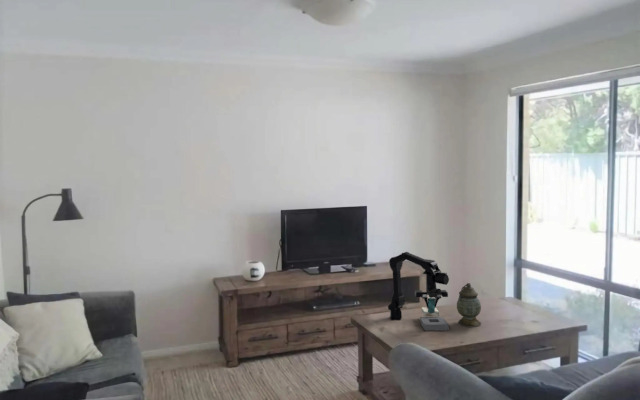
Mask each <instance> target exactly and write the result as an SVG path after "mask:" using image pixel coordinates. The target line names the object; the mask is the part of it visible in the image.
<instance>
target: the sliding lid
mask: <svg viewBox="0 0 640 400" xmlns="http://www.w3.org/2000/svg"><path fill="white" fill-rule="evenodd" d="M420 311H421V314H422V315H423V317H440V311H439V310H438V308H437V307H436V308H435V312H434V313H429V312H428V308H427V306H425V307H421V310H420Z"/></svg>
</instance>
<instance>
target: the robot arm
mask: <svg viewBox="0 0 640 400" xmlns="http://www.w3.org/2000/svg"><path fill="white" fill-rule="evenodd" d="M388 261H389V267H390V270H391V271H392V289H393V294H392V296H391V300H390V303H389V304H388V306H387V309H388V310H389V311H390V312H389V318H390V320H391V321H392V320H393V321H396V320H398V321H399V320H400V321H401V320H402V315H403V314H402V310H401V309H402V308H403V307H404V305H405V303H406V296H405V295H403V293H402V280H401V278H402V275H401V270H402V268H403V262H405V261H408V262H411V263H414V264H415V265H418V266H419V267H421V268H422V269H423V270H424V271H423V272H422V274H423V275H425V280H426V281H425V284H426V285H425V286H426V289H425V290H426V291H422V290H421V289H419V290H418V289H417V290H416V289H415V291H414V296H415V298H422V299H424V303H425V305H426V306H425V307H427V308H428V298H434V299H435V308H437V305H438V302H439V300H440V299H442V298H448V297H449V292H448V291H447V290H446V289H441V288H437V284H440V285H448V284H449V280H450V277H449V275H448V273H447V272H442V271H441V269H440V267H439V266H438V262H437V261H436V260H434V259H428V258H427V259H425V258H422V257H420V256H417V255H416V254H412V253H410V252H409V251H405V252H402V253H400V254H398V255H397V256H393V257H390V258H389V260H388Z"/></svg>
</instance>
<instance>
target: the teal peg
mask: <svg viewBox="0 0 640 400" xmlns="http://www.w3.org/2000/svg"><path fill="white" fill-rule="evenodd" d="M427 301H428V312H429V313H434V312H435V297H432V298H430V297H427Z"/></svg>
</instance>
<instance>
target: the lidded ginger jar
mask: <svg viewBox="0 0 640 400" xmlns="http://www.w3.org/2000/svg"><path fill="white" fill-rule="evenodd" d="M458 294H459V295H458V299H457V301H456V310H457V312H458V314H459V315H460V316H462V318H460V319H459V320H458V322H457V323H458V325H460V326H462V327H465V328H477V327H481V326H482V323H481V321H479V319H477V317H478V316H479V314H480V313H481V310H482V305H481V301H480V299H479V298H478V295H479V293H478V292H477V291H476V290H475V289H474V287H473V286H471V283H469V282H467V283H466V284H465V285H463V286H462V287H461V289H460V291H459V292H458Z"/></svg>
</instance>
